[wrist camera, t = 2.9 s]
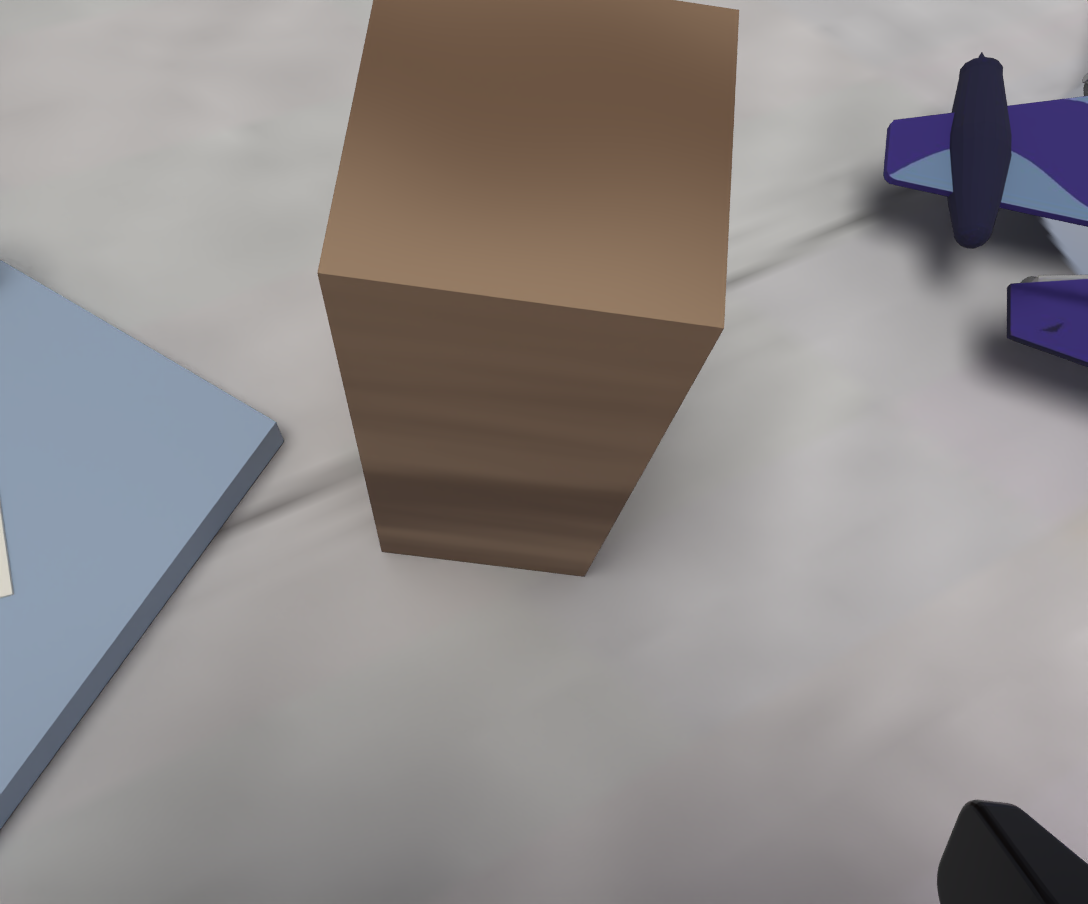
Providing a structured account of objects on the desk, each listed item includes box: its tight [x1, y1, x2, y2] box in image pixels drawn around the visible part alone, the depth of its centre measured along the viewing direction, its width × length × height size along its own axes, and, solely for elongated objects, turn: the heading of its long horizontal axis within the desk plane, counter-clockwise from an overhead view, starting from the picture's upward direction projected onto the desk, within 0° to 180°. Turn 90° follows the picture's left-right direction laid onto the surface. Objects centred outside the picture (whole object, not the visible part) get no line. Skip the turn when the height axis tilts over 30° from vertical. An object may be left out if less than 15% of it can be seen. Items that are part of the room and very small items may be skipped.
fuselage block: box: [318, 0, 739, 576], centre depth 18 cm, size 5×5×12 cm
